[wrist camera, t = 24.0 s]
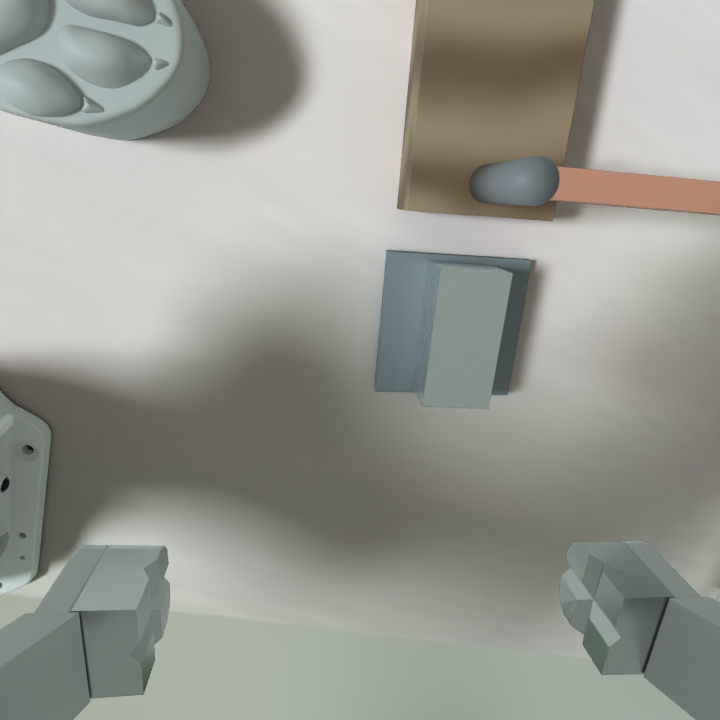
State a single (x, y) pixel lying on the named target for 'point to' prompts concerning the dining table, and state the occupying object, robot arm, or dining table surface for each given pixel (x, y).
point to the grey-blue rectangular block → (459, 334)
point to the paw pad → (102, 64)
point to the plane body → (488, 96)
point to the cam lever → (589, 187)
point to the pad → (405, 310)
